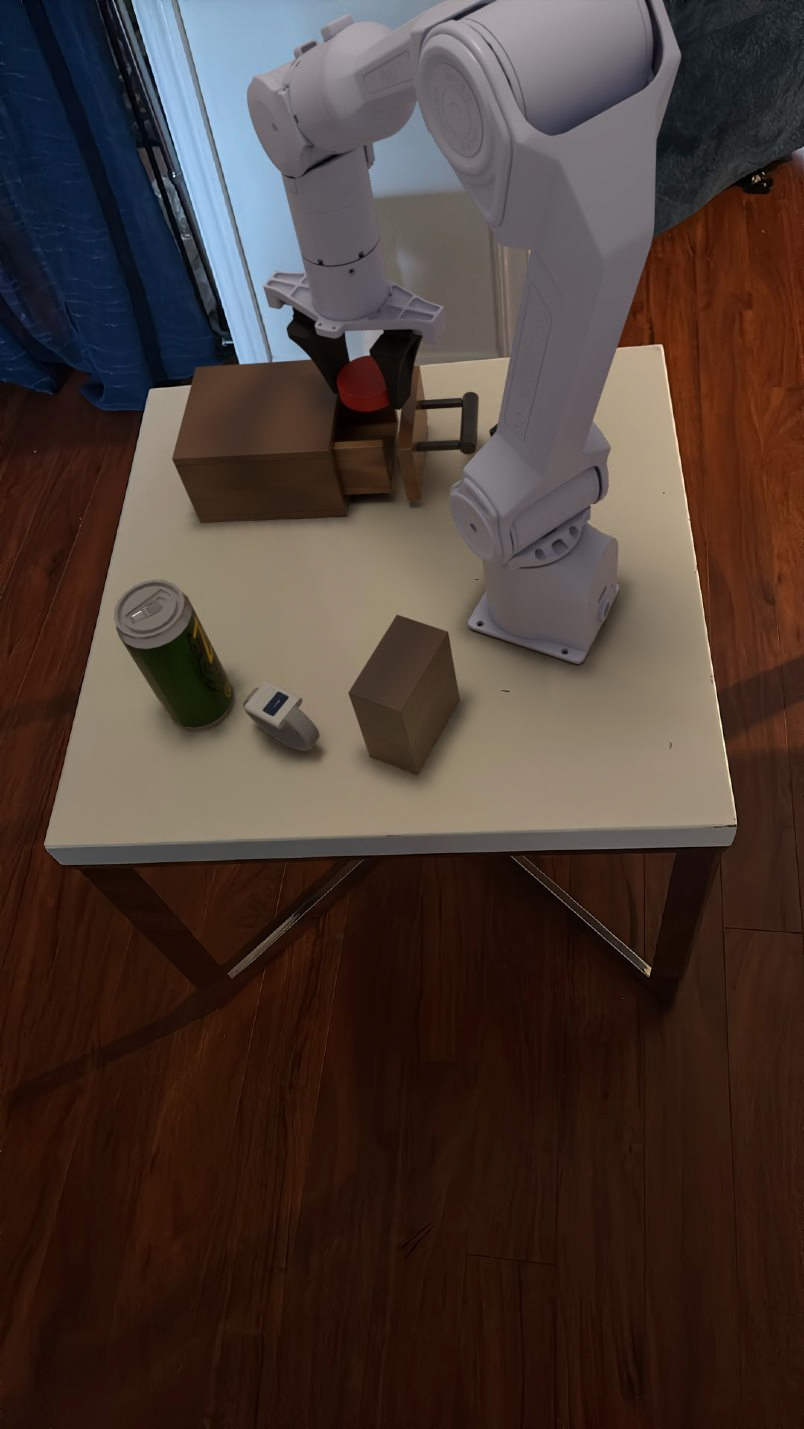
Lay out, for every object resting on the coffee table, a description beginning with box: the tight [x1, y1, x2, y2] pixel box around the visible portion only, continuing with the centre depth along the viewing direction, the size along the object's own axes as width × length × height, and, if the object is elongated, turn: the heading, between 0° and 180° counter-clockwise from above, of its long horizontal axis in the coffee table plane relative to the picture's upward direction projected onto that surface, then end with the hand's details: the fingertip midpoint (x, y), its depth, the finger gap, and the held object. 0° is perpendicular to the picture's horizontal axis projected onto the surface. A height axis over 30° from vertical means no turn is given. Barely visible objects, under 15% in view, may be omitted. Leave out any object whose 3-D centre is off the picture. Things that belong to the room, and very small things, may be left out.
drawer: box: [332, 365, 480, 502], centre depth 88 cm, size 17×10×6 cm, turn 86°
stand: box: [348, 614, 461, 775], centre depth 73 cm, size 4×7×8 cm, turn 152°
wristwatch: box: [242, 680, 320, 752], centre depth 76 cm, size 6×3×5 cm, turn 55°
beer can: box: [113, 579, 234, 730], centre depth 75 cm, size 5×5×12 cm
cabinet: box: [171, 358, 350, 523], centre depth 90 cm, size 13×11×8 cm
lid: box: [337, 354, 390, 412], centre depth 83 cm, size 5×5×2 cm
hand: (371, 393), depth 84 cm, fingers closed on lid, 5 cm apart
